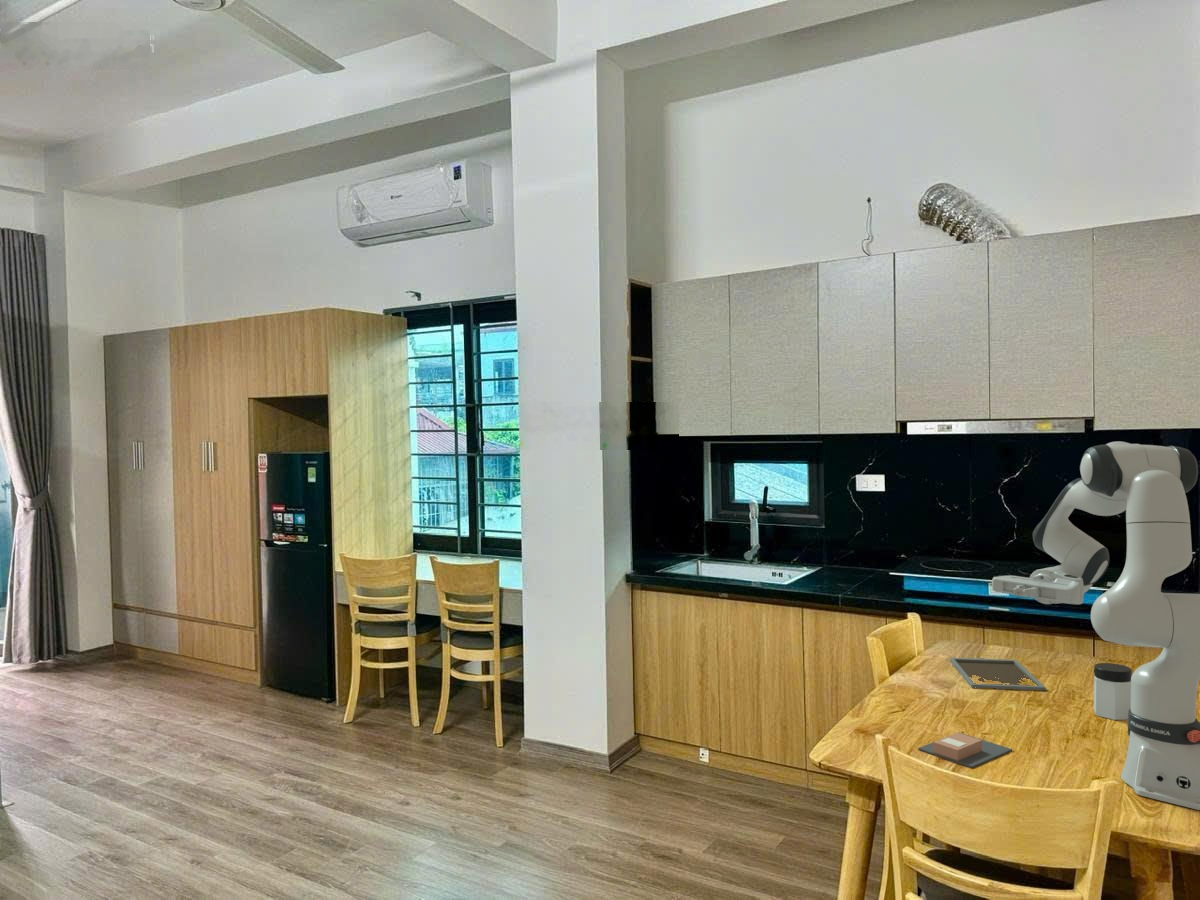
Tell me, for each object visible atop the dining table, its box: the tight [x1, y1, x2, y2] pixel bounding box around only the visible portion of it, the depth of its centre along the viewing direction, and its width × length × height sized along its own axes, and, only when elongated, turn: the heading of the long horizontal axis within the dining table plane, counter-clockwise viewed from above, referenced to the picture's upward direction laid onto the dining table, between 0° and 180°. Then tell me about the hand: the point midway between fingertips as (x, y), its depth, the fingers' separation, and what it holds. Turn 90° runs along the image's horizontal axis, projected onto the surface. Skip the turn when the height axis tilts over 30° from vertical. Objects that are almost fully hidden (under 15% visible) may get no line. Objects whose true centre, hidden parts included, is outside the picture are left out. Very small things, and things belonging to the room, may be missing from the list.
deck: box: [932, 732, 983, 761], centre depth 192 cm, size 2×6×9 cm
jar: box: [1093, 662, 1133, 721], centre depth 215 cm, size 9×8×12 cm
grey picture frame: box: [949, 657, 1047, 692], centre depth 251 cm, size 19×2×30 cm
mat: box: [917, 732, 1013, 769], centre depth 194 cm, size 13×16×1 cm
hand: (1018, 592), depth 209 cm, fingers closed
